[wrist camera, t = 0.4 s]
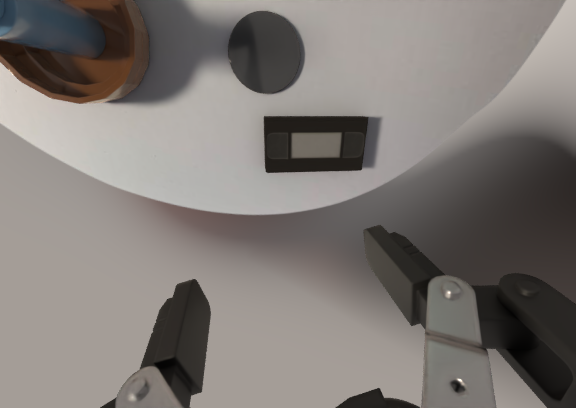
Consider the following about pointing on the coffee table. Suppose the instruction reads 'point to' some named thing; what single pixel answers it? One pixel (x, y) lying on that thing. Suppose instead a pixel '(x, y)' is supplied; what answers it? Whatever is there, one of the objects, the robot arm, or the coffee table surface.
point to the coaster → (264, 52)
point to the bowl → (88, 72)
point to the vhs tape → (314, 143)
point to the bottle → (52, 27)
